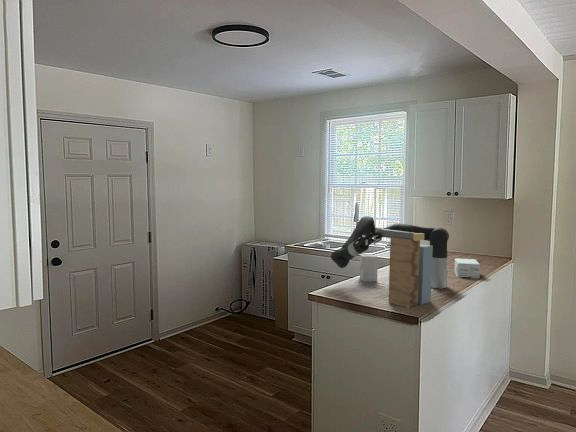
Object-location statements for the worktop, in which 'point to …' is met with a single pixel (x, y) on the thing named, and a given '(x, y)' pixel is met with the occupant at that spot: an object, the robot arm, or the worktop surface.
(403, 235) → the grey and tan bar
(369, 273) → the supplement box
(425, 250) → the light blue tall block
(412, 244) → the brown wooden tall block
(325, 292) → the worktop surface
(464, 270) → the supplement box
